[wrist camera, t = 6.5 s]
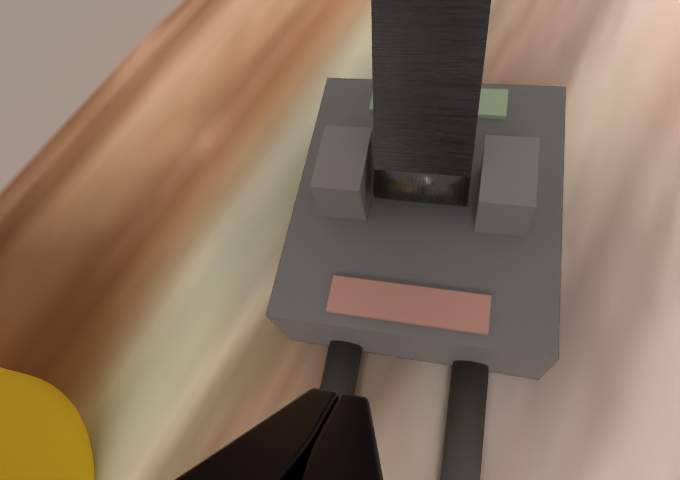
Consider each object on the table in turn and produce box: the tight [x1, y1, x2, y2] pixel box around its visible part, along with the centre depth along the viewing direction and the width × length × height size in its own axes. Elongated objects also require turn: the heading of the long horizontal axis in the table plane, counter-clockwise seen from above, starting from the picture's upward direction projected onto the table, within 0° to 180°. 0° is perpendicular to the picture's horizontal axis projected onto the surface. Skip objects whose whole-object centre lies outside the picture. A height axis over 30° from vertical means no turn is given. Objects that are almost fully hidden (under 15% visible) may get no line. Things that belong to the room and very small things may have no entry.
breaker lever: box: [371, 0, 491, 207], centre depth 14 cm, size 2×4×11 cm, turn 80°
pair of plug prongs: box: [320, 340, 489, 480], centre depth 17 cm, size 8×6×1 cm
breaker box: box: [266, 78, 566, 380], centre depth 18 cm, size 10×9×5 cm
